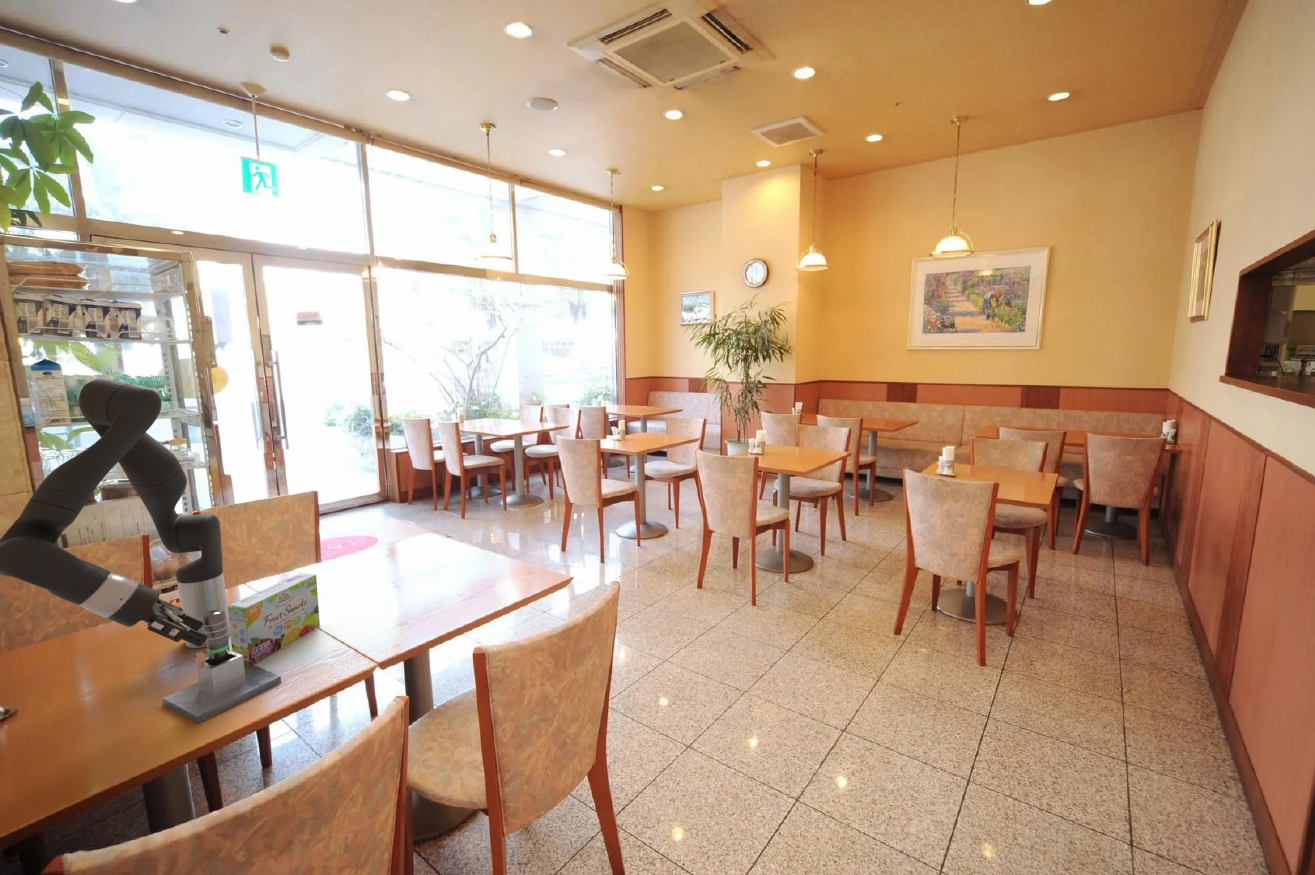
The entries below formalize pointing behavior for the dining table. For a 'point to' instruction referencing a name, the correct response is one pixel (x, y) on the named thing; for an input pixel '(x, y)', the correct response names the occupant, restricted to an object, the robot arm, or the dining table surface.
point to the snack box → (274, 617)
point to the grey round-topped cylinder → (216, 637)
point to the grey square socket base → (220, 687)
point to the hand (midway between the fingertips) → (202, 634)
